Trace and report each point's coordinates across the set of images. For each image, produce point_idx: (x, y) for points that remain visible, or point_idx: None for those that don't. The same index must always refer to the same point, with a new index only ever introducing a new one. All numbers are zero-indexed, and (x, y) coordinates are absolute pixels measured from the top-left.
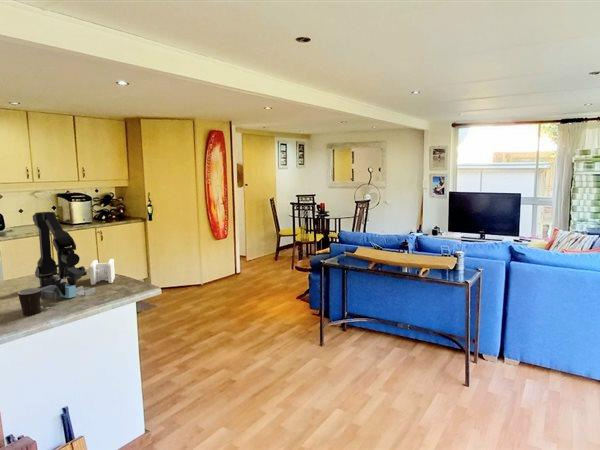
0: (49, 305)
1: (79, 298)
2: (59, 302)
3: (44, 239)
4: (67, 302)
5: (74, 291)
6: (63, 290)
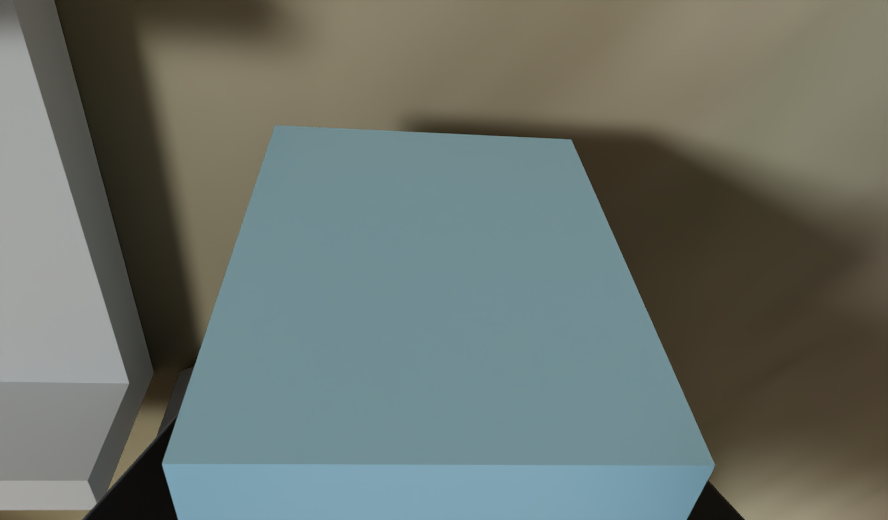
0: (860, 312)
1: (211, 30)
2: (650, 275)
3: None
4: (629, 94)
5: (324, 234)
6: (709, 490)
